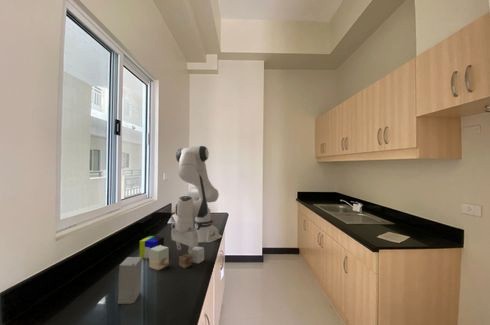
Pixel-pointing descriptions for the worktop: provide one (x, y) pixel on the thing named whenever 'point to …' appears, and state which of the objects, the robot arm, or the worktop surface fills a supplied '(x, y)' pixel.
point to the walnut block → (185, 260)
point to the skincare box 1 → (129, 280)
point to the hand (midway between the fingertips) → (184, 251)
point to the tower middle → (158, 252)
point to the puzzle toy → (149, 245)
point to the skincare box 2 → (197, 254)
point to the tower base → (158, 263)
